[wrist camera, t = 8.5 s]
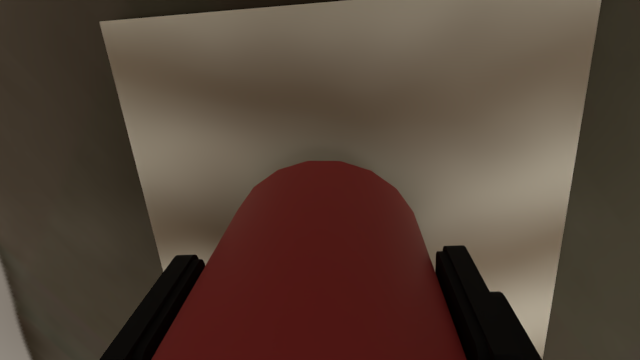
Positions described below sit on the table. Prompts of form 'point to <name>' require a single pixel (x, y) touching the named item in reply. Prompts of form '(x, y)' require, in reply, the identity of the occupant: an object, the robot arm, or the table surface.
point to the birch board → (369, 119)
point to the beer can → (317, 277)
